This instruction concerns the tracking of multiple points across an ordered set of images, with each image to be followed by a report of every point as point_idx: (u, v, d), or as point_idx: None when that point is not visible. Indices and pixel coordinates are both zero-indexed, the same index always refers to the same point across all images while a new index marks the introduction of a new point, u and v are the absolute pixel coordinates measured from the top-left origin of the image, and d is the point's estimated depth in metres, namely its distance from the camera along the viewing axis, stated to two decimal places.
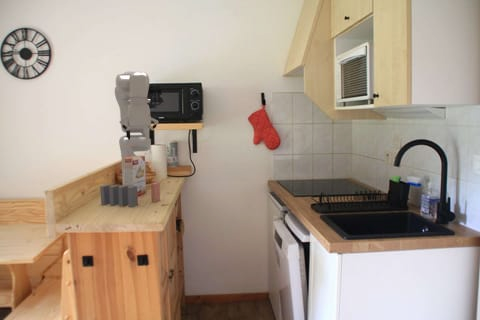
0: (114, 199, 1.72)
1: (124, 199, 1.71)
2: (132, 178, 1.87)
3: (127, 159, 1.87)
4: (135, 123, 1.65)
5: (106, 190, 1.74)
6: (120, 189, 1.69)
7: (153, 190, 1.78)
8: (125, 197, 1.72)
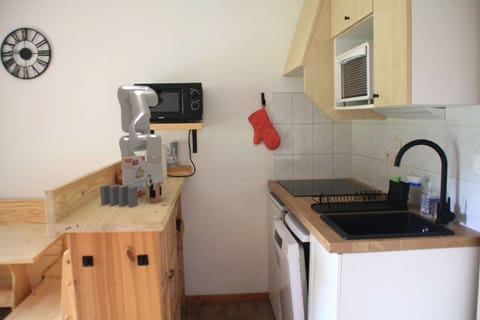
0: (114, 199, 1.72)
1: (124, 199, 1.71)
2: (132, 178, 1.87)
3: (127, 159, 1.87)
4: (156, 180, 1.77)
5: (106, 190, 1.74)
6: (120, 189, 1.69)
7: None
8: (125, 197, 1.72)
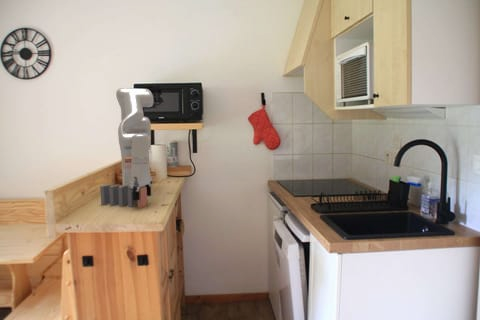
0: (114, 199, 1.72)
1: (124, 199, 1.71)
2: None
3: (127, 159, 1.87)
4: (143, 183, 1.66)
5: (106, 190, 1.74)
6: (120, 189, 1.69)
7: None
8: (125, 197, 1.72)
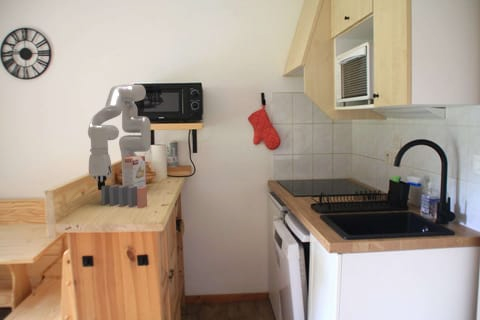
0: (114, 199, 1.72)
1: (124, 199, 1.71)
2: (132, 178, 1.87)
3: (127, 159, 1.87)
4: None
5: (107, 190, 1.74)
6: (120, 189, 1.69)
7: (139, 195, 1.66)
8: (125, 197, 1.72)
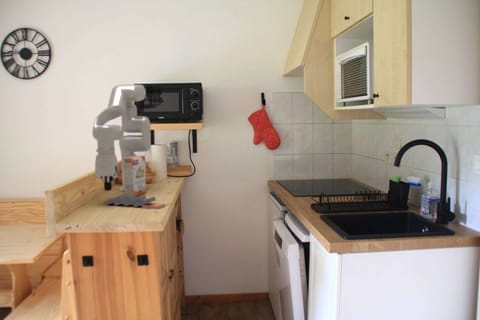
0: (121, 203, 1.71)
1: None
2: (132, 178, 1.87)
3: (127, 159, 1.87)
4: None
5: None
6: (138, 199, 1.67)
7: (153, 208, 1.65)
8: None
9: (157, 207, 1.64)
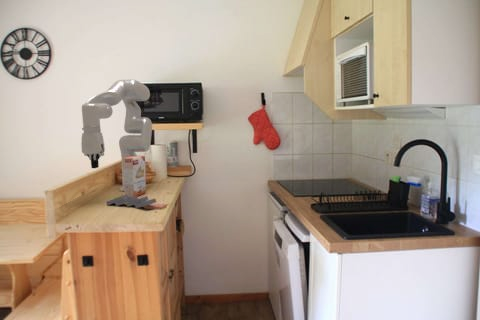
0: None
1: None
2: (132, 178, 1.87)
3: (127, 159, 1.87)
4: None
5: None
6: (139, 201, 1.66)
7: None
8: None
9: (159, 208, 1.64)
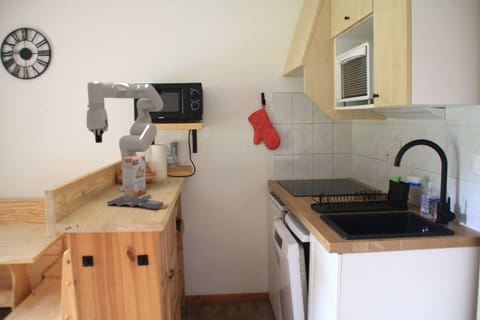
0: (123, 204, 1.70)
1: (137, 204, 1.68)
2: (132, 178, 1.87)
3: (127, 159, 1.87)
4: None
5: None
6: (143, 199, 1.65)
7: None
8: (140, 202, 1.70)
9: (162, 208, 1.64)
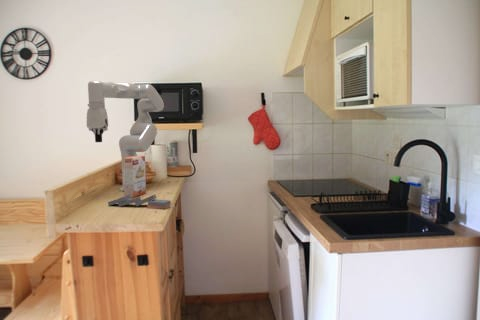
0: (125, 204, 1.70)
1: None
2: (132, 178, 1.87)
3: (127, 159, 1.87)
4: None
5: None
6: (151, 198, 1.68)
7: (159, 208, 1.65)
8: None
9: (164, 207, 1.65)
